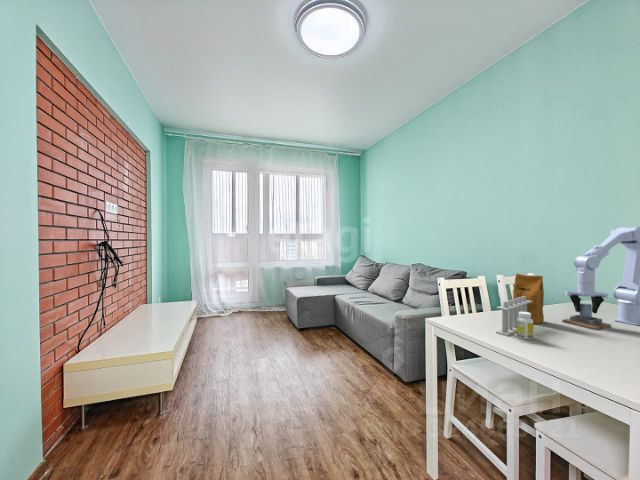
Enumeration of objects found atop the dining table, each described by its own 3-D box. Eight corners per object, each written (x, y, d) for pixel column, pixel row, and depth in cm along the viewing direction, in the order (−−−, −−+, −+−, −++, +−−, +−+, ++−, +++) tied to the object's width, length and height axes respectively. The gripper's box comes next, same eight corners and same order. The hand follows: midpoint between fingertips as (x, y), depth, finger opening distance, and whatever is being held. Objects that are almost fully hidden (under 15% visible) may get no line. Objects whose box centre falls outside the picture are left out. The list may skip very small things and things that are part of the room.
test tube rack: (507, 336, 113) (507, 304, 113) (495, 333, 117) (495, 301, 116) (532, 325, 127) (533, 296, 126) (521, 322, 130) (521, 294, 130)
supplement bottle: (532, 336, 113) (532, 312, 113) (534, 340, 108) (534, 315, 108) (515, 333, 115) (516, 310, 115) (517, 338, 111) (517, 313, 111)
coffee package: (516, 315, 142) (517, 272, 141) (547, 321, 131) (547, 274, 131) (508, 318, 136) (508, 273, 136) (538, 325, 126) (539, 276, 125)
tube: (583, 320, 130) (582, 302, 130) (594, 322, 126) (593, 304, 126) (577, 321, 128) (577, 303, 128) (588, 323, 125) (588, 305, 125)
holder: (577, 318, 135) (577, 312, 135) (610, 326, 124) (610, 319, 124) (562, 321, 131) (562, 315, 130) (595, 330, 119) (595, 323, 119)
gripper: (601, 281, 128) (601, 311, 128) (562, 280, 133) (562, 308, 133) (611, 284, 121) (610, 315, 122) (569, 282, 127) (569, 312, 127)
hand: (585, 312), depth 127 cm, fingers open, 5 cm apart
